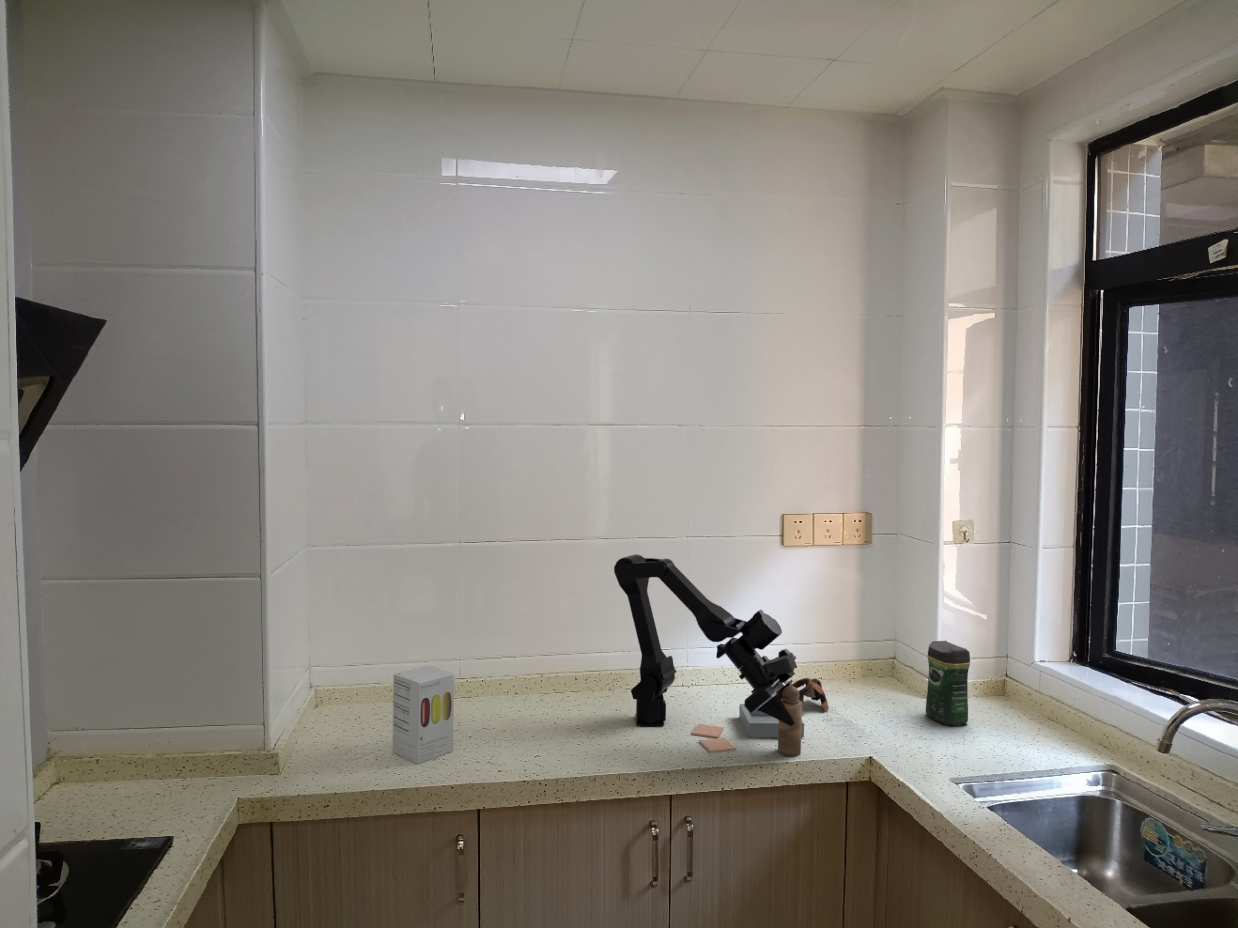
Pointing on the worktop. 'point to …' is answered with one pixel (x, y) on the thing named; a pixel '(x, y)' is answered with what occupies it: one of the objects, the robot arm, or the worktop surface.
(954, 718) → the coffee jar
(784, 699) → the pepper mill
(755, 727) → the tray
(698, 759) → the worktop surface
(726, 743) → the tile
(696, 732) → the tile
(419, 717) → the supplement box
